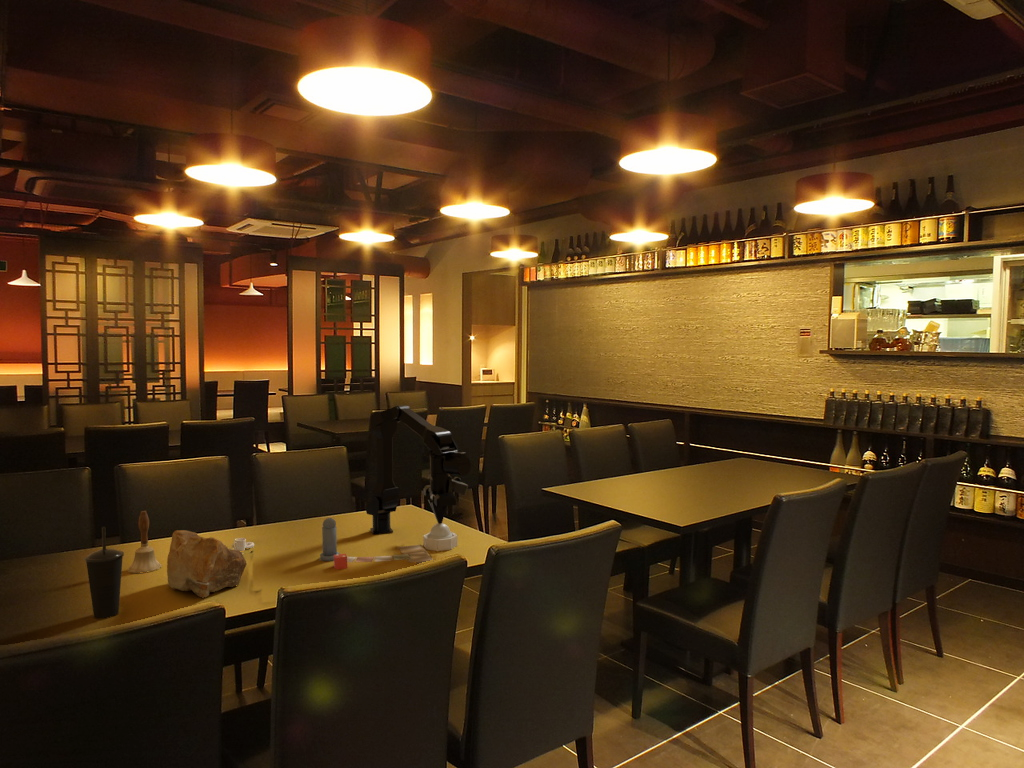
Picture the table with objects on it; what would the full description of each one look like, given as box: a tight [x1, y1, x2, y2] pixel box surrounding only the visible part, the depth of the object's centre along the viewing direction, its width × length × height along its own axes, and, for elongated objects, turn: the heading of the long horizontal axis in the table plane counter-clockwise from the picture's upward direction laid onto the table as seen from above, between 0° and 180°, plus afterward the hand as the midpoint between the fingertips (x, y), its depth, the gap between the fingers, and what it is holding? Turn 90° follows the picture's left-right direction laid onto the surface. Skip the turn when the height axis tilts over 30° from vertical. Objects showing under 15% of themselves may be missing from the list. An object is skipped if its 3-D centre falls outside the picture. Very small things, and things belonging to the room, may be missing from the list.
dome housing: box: [422, 531, 458, 552], centre depth 211 cm, size 10×10×3 cm
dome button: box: [428, 522, 452, 539], centre depth 211 cm, size 7×7×6 cm
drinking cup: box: [84, 526, 125, 619], centre depth 157 cm, size 8×8×20 cm
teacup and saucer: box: [232, 537, 255, 551], centre depth 206 cm, size 9×8×4 cm
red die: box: [333, 553, 348, 570], centre depth 187 cm, size 3×3×3 cm
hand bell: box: [127, 510, 163, 574], centre depth 190 cm, size 8×8×16 cm
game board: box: [318, 544, 434, 565], centre depth 196 cm, size 16×30×1 cm, turn 110°
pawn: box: [319, 517, 340, 562], centre depth 195 cm, size 5×5×11 cm
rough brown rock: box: [166, 529, 247, 599], centre depth 175 cm, size 23×16×15 cm
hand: (440, 523), depth 211 cm, fingers closed, pressing on dome button
